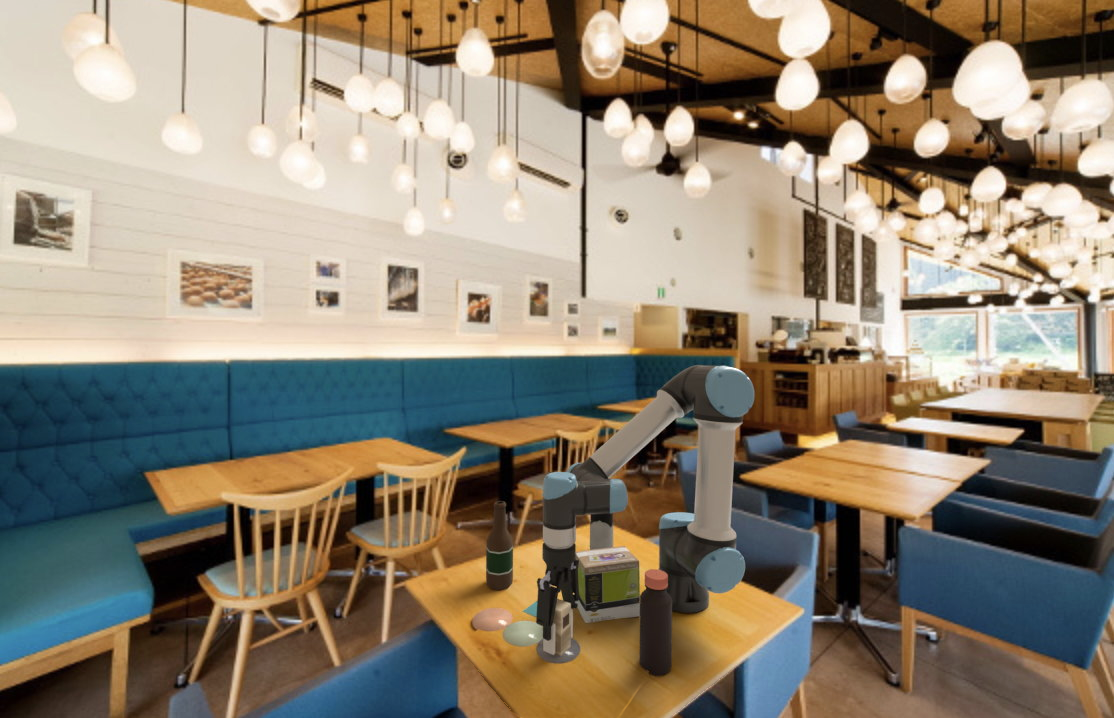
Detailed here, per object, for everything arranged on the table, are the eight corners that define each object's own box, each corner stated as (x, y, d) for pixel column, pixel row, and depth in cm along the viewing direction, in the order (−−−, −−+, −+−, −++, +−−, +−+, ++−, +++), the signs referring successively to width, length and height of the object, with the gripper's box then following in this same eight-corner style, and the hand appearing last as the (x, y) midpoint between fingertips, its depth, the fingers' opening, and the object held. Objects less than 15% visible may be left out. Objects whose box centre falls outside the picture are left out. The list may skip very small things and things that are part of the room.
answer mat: (575, 608, 122) (575, 606, 122) (554, 626, 113) (554, 624, 113) (545, 596, 127) (545, 594, 127) (522, 613, 119) (522, 611, 119)
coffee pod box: (625, 597, 127) (625, 544, 127) (640, 617, 118) (641, 560, 117) (573, 604, 124) (573, 549, 123) (584, 626, 114) (584, 566, 114)
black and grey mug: (585, 558, 151) (586, 513, 151) (594, 541, 165) (594, 499, 165) (612, 562, 149) (612, 516, 148) (618, 544, 162) (619, 502, 162)
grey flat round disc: (588, 647, 106) (588, 644, 106) (564, 672, 97) (564, 669, 97) (552, 632, 111) (552, 629, 111) (527, 654, 103) (527, 651, 103)
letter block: (570, 647, 105) (571, 603, 105) (561, 656, 101) (561, 611, 101) (556, 640, 107) (556, 598, 107) (546, 649, 104) (546, 605, 104)
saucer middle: (552, 632, 111) (552, 629, 111) (527, 654, 103) (527, 651, 103) (520, 618, 117) (520, 616, 117) (494, 638, 109) (494, 636, 109)
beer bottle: (518, 583, 135) (518, 501, 134) (498, 593, 129) (499, 508, 128) (500, 574, 140) (500, 496, 139) (480, 584, 134) (480, 502, 133)
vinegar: (644, 677, 96) (645, 582, 96) (635, 656, 103) (636, 567, 102) (676, 675, 97) (677, 581, 96) (665, 654, 103) (666, 566, 103)
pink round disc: (520, 618, 117) (520, 616, 117) (494, 638, 109) (494, 636, 109) (491, 606, 123) (491, 603, 122) (464, 624, 114) (464, 621, 114)
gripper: (568, 525, 114) (567, 617, 114) (519, 553, 98) (518, 660, 98) (594, 532, 110) (594, 628, 110) (547, 563, 94) (546, 674, 94)
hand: (558, 643), depth 104 cm, fingers open, 6 cm apart
